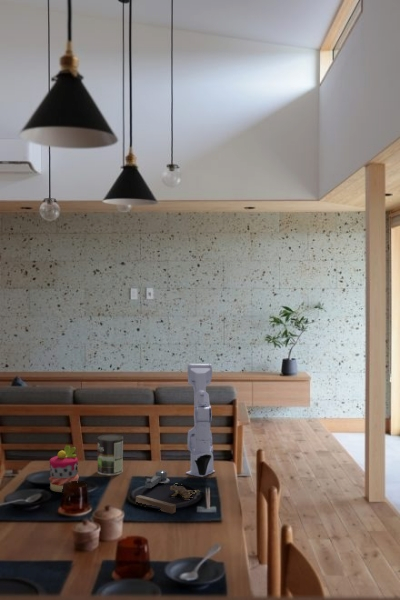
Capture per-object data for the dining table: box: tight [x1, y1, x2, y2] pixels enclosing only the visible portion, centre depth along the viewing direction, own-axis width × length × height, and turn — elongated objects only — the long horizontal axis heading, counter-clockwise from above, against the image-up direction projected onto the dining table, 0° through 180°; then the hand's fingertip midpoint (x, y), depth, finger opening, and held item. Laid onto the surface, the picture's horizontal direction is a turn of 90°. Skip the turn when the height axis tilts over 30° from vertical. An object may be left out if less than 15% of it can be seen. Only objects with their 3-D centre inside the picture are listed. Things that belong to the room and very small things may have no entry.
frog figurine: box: [169, 483, 201, 499], centre depth 239 cm, size 12×12×4 cm
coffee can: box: [97, 433, 124, 477], centre depth 266 cm, size 10×10×14 cm
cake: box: [48, 445, 80, 493], centre depth 246 cm, size 10×11×15 cm
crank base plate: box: [159, 477, 170, 484], centre depth 255 cm, size 6×6×1 cm
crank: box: [144, 469, 168, 489], centre depth 250 cm, size 14×4×4 cm, turn 159°
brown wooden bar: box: [135, 494, 177, 515], centre depth 226 cm, size 2×16×2 cm, turn 54°
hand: (202, 474), depth 248 cm, fingers closed
